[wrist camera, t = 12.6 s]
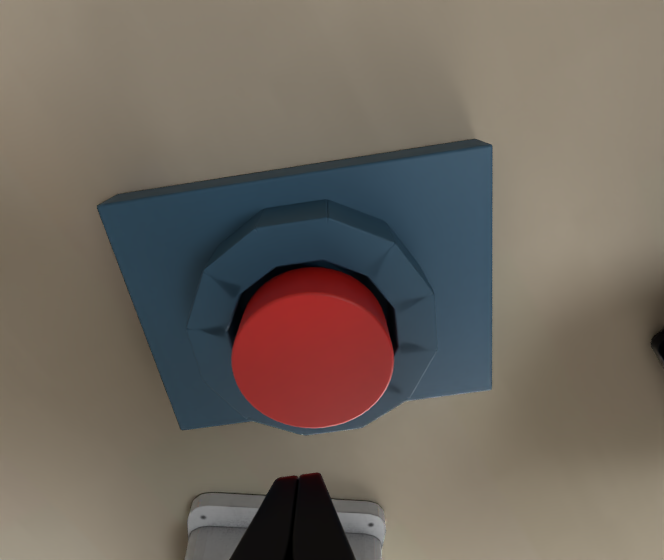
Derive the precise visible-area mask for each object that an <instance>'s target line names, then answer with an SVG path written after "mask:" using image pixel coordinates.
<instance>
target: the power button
mask: <svg viewBox="0 0 664 560" xmlns="http://www.w3.org/2000/svg"><path fill="white" fill-rule="evenodd" d="M231 364H232V371H233V375H234V378H235V381H236V383H237V386H238V387H239V389H240V391H241V393H242V394H243V395H244V397H245V398H246V399H247V401H248V402H249V403H250V404H251V405H252V406H253V407H255V408H256V409H257V410H258V411H260V412H261V413H262V414H264V415H266V416H267V417H269V418H271V419H273V420H275V421H278V422H280V423H283V424H286V425H290V426H295V427H302V428H325V427H331V426H336V425H339V424H343V423H346V422H348V421H350V420H353V419H355V418H357V417H358V416H360V415H362V414H363V413H365V412H366V411H368V410H369V409H370V408H371V407H372V406H373V405H374V404H376V402H377V401H378V400H379V399H380V398H381V397H382V395H383V393H384V392H385V390H386V389H387V387H388V384H389V382H390V380H391V377H392V373H393V368H394V352H393V346H392V342H391V338H390V335H389V331H388V327H387V323H386V319H385V316H384V313H383V310H382V307H381V306H380V304H379V302H378V300H377V299H376V297H375V296H374V294H373V293H372V292H371V291H370V290H369V289H368V288H367V287H366V286H365V285H364V284H362V283H361V282H360V281H358V280H357V279H355V278H353V277H352V276H350V275H347V274H345V273H343V272H340V271H337V270H333V269H328V268H322V267H307V268H299V269H294V270H290V271H287V272H284V273H281V274H279V275H277V276H275V277H273V278H272V279H270V280H269V281H267V282H266V283H265V284H263V285H262V286H261V287H260V288H259V289H258V290H257V291H256V292H255V293H254V295H253V296H252V297H251V299H250V301H249V302H248V304H247V306H246V308H245V311H244V313H243V316H242V319H241V322H240V325H239V328H238V331H237V334H236V337H235V340H234V344H233V347H232V354H231Z"/></svg>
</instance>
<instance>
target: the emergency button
mask: <svg viewBox="0 0 664 560" xmlns="http://www.w3.org/2000/svg"><path fill="white" fill-rule="evenodd" d="M265 497H266V496H261V495H242V494H224V493H207V494H201V495H199V496H198V497H197V498H195V499H194V500H193V503H192V506H191V510H190V513H189V517H188V520H187V526H188V546H187V551H186V556H185V560H229V559H230V557H231V556H232V554H233V552H234V550H235V549H236V547H237V545H238V543H239V542H240V540H241V538H242V537H243V535H244V533H245V531H246V530H247V528H248V526H249V524H250V523H251V521H252V519H253V518H254V516H255V514H256V512H257V511H258V509H259V507H260V505H261V504H262V502H263V500H264V499H265ZM331 500H332V502H333V505H334V507H335V509H336V512H337V514H338V517H339V519H340V522H341V524H342V526H343V529H344V531H345V534H346V536H347V539H348V541H349V544H350V546H351V548H352V551H353V553H354V556H355V558H356V560H382V547H383V542H384V538H385V533H386V527H385V518H384V510H383V509H382V508H381V507H380V506H379V505H378V504H376V503H372V502H369V501H353V500H334V499H331Z"/></svg>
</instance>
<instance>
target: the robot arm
mask: <svg viewBox="0 0 664 560" xmlns="http://www.w3.org/2000/svg"><path fill="white" fill-rule="evenodd" d="M651 347H652V349H653V351H654V353H655V354H656V356H657V358H658V360H659V361H660V363H661V365H662V367H663V368H664V330H662V331H660V332H659V333H657V334H656V335H655V336H654V337H653V339H652V341H651ZM229 560H356V558H355V556H354V553H353V551H352V548H351V546H350V544H349V541H348V539H347V536H346V534H345V531H344V529H343V526H342V524H341V522H340V519H339V517H338V514H337V512H336V509H335V507H334V505H333V502H332V500H331V497H330V495H329V492H328V490H327V487H326V485H325V483H324V480H323V478H322V476H321V474H320V473H310V474H303V475H301V476H300V477H299V478H298V477H297V476H287V477H280V478H277V479H276V480H275V481H274V483H273V485H272V486H271V488H270V490H269V492H268V493H267V495H266V497H265V499H264V500H263V502H262V504H261V505H260V507H259V509H258V511H257V512H256V514H255V516H254V518H253V519H252V521H251V523H250V524H249V526H248V528H247V530H246V531H245V533H244V535H243V537H242V538H241V540H240V542H239V543H238V545H237V547H236V549H235V550H234V552H233V554H232V556H231V557H230V559H229Z"/></svg>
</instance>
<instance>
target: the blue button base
mask: <svg viewBox="0 0 664 560" xmlns="http://www.w3.org/2000/svg"><path fill="white" fill-rule="evenodd" d="M97 209H98V212H99V214H100V217H101V220H102V222H103V225H104V228H105V230H106V233H107V236H108V238H109V241H110V244H111V246H112V249H113V252H114V254H115V257H116V259H117V262H118V265H119V267H120V270H121V273H122V275H123V278H124V281H125V283H126V286H127V289H128V291H129V294H130V297H131V299H132V302H133V304H134V307H135V310H136V312H137V315H138V318H139V320H140V323H141V326H142V328H143V331H144V334H145V336H146V339H147V342H148V344H149V347H150V349H151V352H152V355H153V357H154V360H155V363H156V365H157V368H158V371H159V373H160V376H161V379H162V381H163V384H164V387H165V389H166V392H167V394H168V397H169V400H170V402H171V405H172V408H173V410H174V413H175V416H176V418H177V421H178V424H179V426H180V429H181V430H189V429H197V428H204V427H212V426H220V425H227V424H235V423H243V422H250V421H254V422H258V423H261V424H265V425H268V426H272V427H275V428H279V429H282V430H286V431H289V432H293V433H296V434H300V435H302V434H303V435H313V434H321V433H329V432H336V431H344V430H352V429H359V428H363V427H364V426H366V425H368V424H369V423H371V422H373V421H374V420H376V419H377V418H379V417H381V416H382V415H384V414H386V413H387V412H389V411H390V410H392V409H394V408H395V407H397V406H399V405H400V404H402V403H403V402H405V401H411V400H419V399H427V398H434V397H442V396H449V395H457V394H465V393H472V392H480V391H488V390H491V389H492V145H491V144H488V143H485V142H483V141H480V140H477V139H471V140H464V141H458V142H452V143H445V144H439V145H432V146H426V147H419V148H413V149H406V150H400V151H393V152H387V153H381V154H374V155H368V156H361V157H355V158H348V159H342V160H335V161H329V162H323V163H316V164H310V165H303V166H297V167H290V168H284V169H277V170H271V171H264V172H258V173H252V174H245V175H239V176H232V177H226V178H219V179H213V180H206V181H200V182H194V183H187V184H181V185H174V186H168V187H161V188H155V189H148V190H142V191H135V192H129V193H123V194H117V195H115V196H113V197H112V198H110V199H108V200H106V201H104V202H103V203H101V204H99V205H97ZM307 267H322V268H328V269H333V270H337V271H340V272H343V273H345V274H347V275H350V276H352V277H353V278H355V279H357V280H358V281H360V282H361V283H362V284H364V285H365V286H366V287H367V288H368V289H369V290H370V291H371V292H372V293H373V294H374V296H375V297H376V299H377V300H378V302H379V304H380V306H381V307H382V310H383V313H384V316H385V319H386V323H387V327H388V331H389V335H390V338H391V342H392V346H393V352H394V368H393V373H392V377H391V380H390V382H389V384H388V387H387V389H386V390H385V392H384V393H383V395H382V397H381V398H380V399H379V400H378V401H377V402H376V404H374V405H373V406H372V407H371V408H370V409H369V410H368V411H366V412H365V413H363V414H362V415H360V416H358V417H357V418H355V419H353V420H350V421H348V422H346V423H343V424H339V425H336V426H331V427H325V428H302V427H295V426H290V425H286V424H283V423H280V422H278V421H275V420H273V419H271V418H269V417H267V416H266V415H264V414H262V413H261V412H260V411H258V410H257V409H256V408H255V407H253V406H252V405H251V404H250V403H249V402H248V401H247V399H246V398H245V397H244V395H243V394H242V393H241V391H240V389H239V387H238V386H237V383H236V381H235V378H234V375H233V371H232V364H231V354H232V347H233V344H234V340H235V337H236V334H237V331H238V328H239V325H240V322H241V319H242V316H243V313H244V311H245V308H246V306H247V304H248V302H249V301H250V299H251V297H252V296H253V295H254V293H255V292H256V291H257V290H258V289H259V288H260V287H261V286H262V285H263V284H265V283H266V282H267V281H269V280H270V279H272V278H273V277H275V276H277V275H279V274H281V273H284V272H287V271H290V270H294V269H299V268H307Z"/></svg>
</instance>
